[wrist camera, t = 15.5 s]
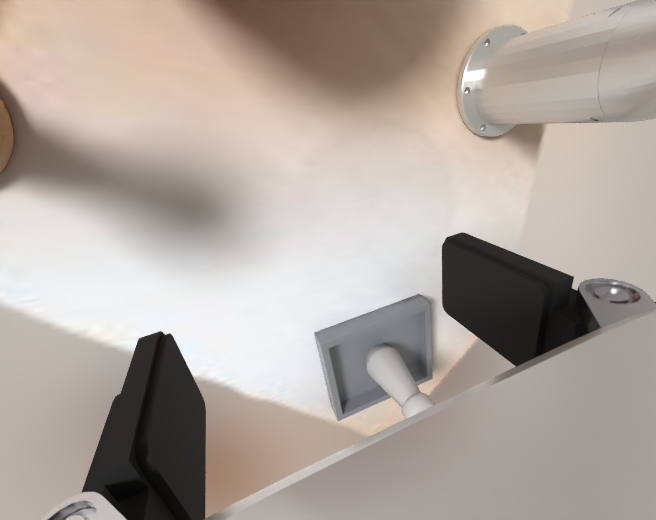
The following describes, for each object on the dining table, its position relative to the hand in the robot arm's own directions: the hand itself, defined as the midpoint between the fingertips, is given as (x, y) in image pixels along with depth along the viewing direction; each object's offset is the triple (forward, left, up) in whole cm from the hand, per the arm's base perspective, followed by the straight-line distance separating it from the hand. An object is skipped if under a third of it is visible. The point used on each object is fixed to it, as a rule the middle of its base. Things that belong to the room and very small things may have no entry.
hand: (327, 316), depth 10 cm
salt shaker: (-13, +31, -28) cm, 43 cm away
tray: (-13, +31, -28) cm, 44 cm away
